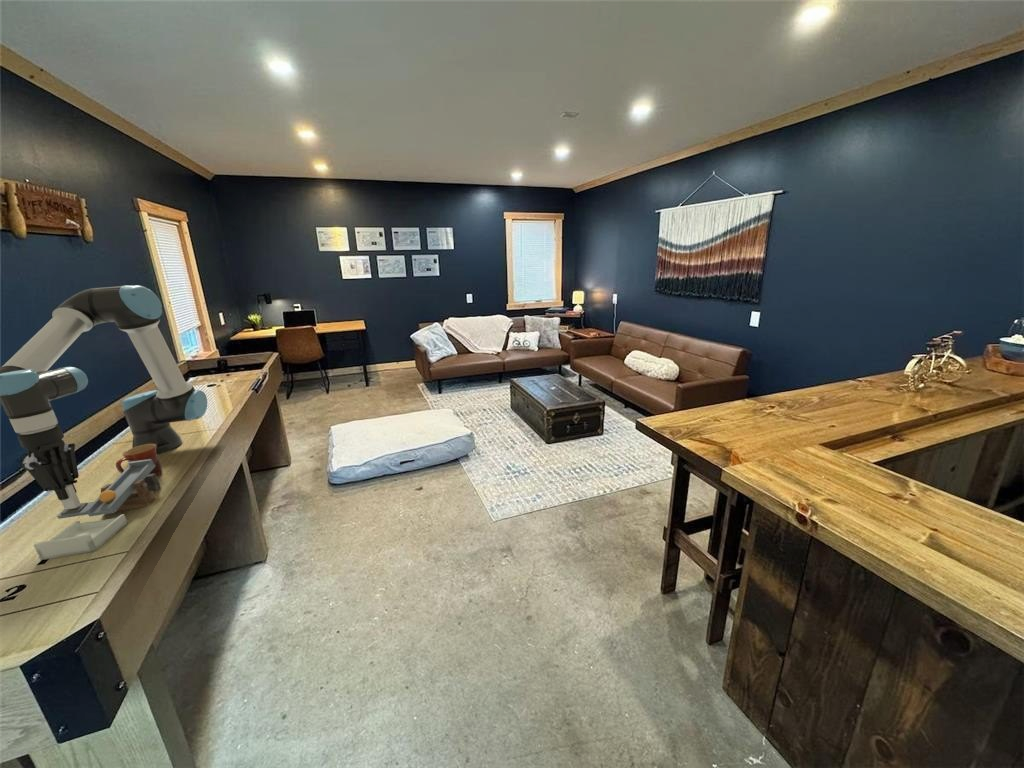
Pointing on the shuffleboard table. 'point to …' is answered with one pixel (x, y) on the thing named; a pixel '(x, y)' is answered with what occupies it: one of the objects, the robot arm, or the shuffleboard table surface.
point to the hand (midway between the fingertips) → (73, 507)
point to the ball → (107, 496)
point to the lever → (120, 486)
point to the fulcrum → (140, 493)
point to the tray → (80, 538)
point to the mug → (141, 457)
